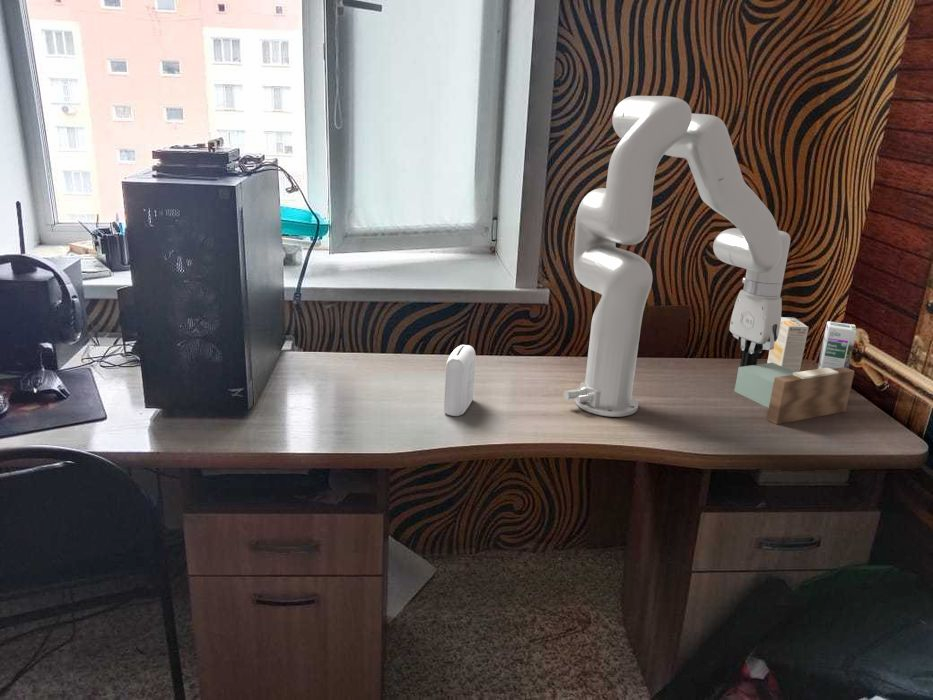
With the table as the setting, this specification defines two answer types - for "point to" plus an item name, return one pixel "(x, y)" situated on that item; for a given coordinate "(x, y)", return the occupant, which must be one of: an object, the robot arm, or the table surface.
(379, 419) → the table surface
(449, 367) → the photo printer
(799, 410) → the board
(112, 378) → the table surface
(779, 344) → the supplement box
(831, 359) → the syrup box
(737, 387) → the sage block
